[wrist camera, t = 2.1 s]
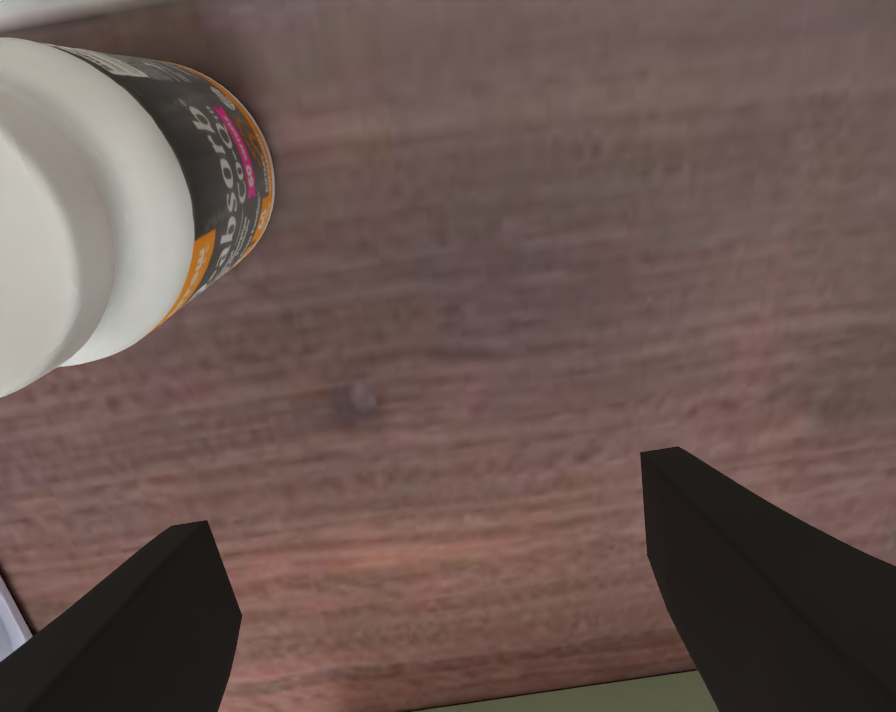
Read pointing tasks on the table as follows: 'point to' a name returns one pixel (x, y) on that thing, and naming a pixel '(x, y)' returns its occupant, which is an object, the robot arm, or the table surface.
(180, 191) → the pill bottle
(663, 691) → the scale
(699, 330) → the table surface
